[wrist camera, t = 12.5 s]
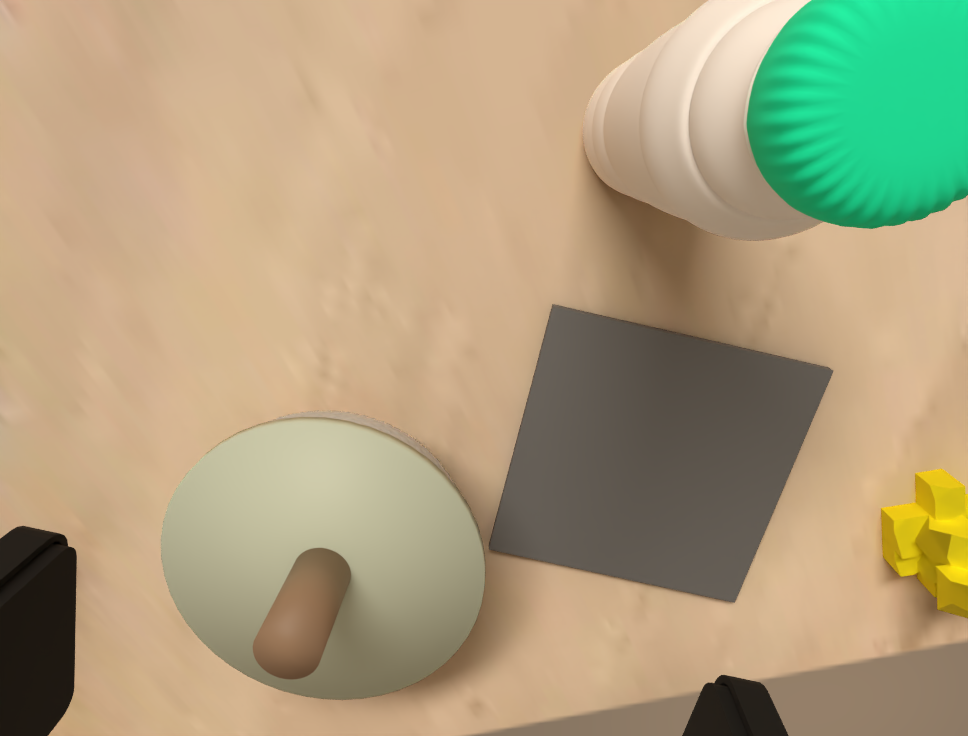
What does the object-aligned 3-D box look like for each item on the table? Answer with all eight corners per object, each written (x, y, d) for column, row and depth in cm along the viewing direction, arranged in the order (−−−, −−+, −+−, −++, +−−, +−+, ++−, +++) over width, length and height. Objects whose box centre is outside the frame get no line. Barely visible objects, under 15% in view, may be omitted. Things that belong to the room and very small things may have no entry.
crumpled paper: (976, 461, 41) (1078, 531, 33) (975, 568, 43) (1069, 655, 36) (879, 478, 41) (957, 550, 34) (882, 582, 44) (956, 670, 37)
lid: (517, 455, 34) (517, 528, 28) (452, 713, 40) (440, 823, 34) (176, 385, 34) (96, 441, 27) (161, 657, 40) (92, 756, 33)
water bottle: (717, 184, 36) (1108, 262, 12) (589, 206, 37) (728, 319, 13) (709, 45, 34) (1168, -186, 10) (573, 71, 34) (705, -90, 11)
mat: (828, 367, 39) (833, 370, 39) (731, 596, 45) (734, 602, 44) (552, 304, 39) (553, 306, 38) (489, 544, 44) (488, 549, 43)
